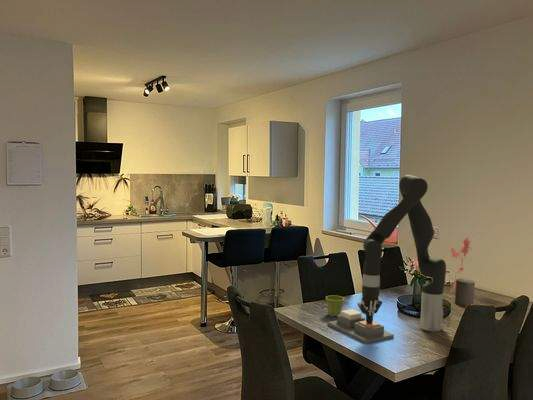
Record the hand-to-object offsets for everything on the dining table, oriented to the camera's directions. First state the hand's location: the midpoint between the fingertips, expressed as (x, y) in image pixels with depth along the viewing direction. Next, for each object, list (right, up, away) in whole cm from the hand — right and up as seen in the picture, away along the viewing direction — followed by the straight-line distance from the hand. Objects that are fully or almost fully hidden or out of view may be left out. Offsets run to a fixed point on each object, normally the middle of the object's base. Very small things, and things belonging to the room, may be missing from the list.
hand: (369, 323), depth 197 cm
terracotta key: (0, -3, 0) cm, 3 cm away
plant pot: (-11, -4, +29) cm, 31 cm away
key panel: (-3, -5, +6) cm, 8 cm away
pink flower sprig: (+77, -4, +79) cm, 110 cm away
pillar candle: (+66, -5, +54) cm, 85 cm away
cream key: (-6, -1, +11) cm, 12 cm away
